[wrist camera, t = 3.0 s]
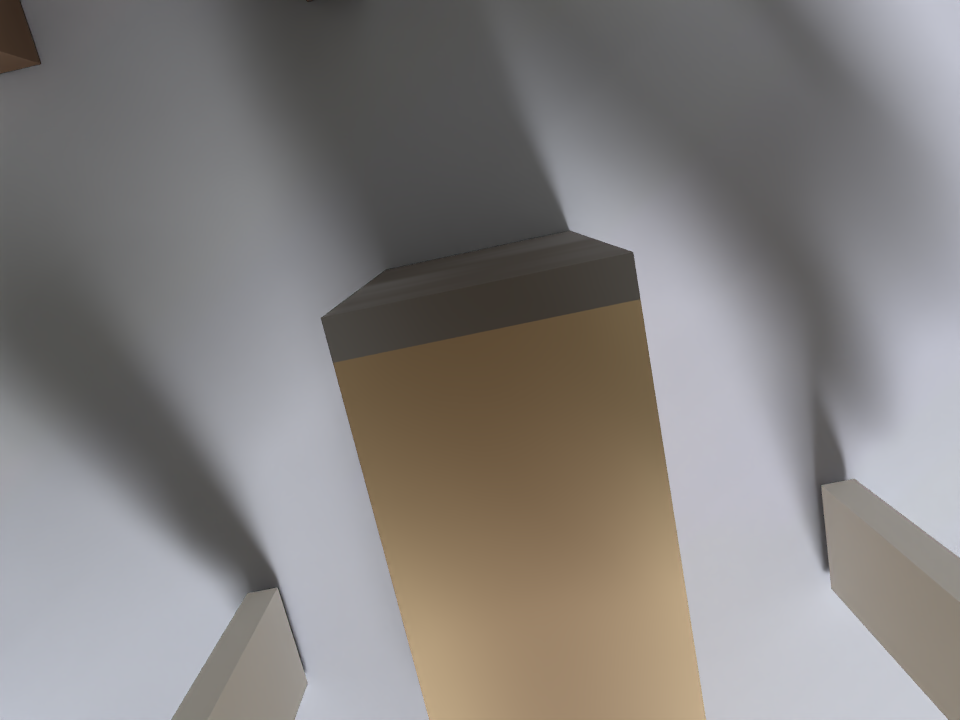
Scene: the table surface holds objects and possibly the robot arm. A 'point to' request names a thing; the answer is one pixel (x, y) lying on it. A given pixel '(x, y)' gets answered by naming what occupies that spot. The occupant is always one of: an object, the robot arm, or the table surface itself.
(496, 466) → the rail
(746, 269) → the table surface
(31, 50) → the brown domed block
